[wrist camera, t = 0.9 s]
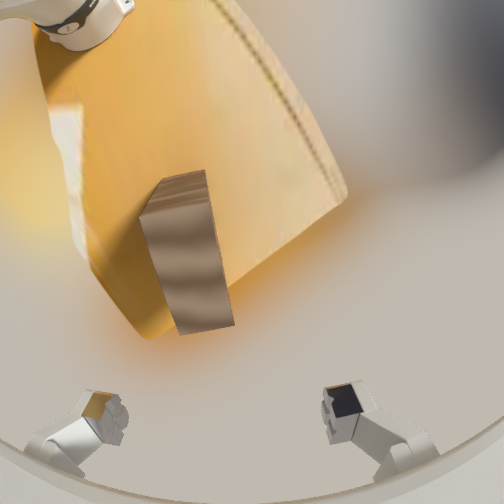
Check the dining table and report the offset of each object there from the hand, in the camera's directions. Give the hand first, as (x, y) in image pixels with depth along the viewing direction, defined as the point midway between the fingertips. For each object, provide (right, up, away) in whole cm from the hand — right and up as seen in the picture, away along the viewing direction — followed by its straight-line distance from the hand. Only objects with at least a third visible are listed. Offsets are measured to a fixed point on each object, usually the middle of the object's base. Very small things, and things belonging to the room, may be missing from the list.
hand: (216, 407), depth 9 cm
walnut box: (-10, +12, +44) cm, 47 cm away
